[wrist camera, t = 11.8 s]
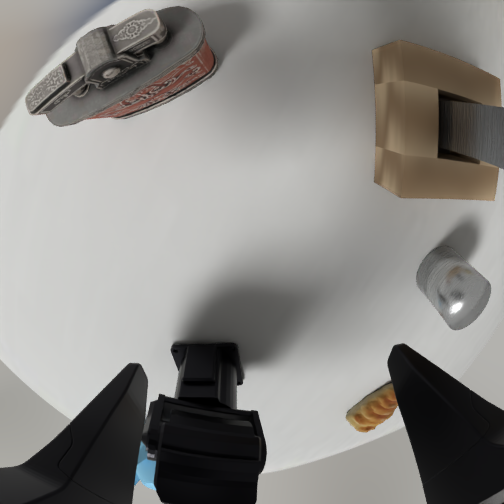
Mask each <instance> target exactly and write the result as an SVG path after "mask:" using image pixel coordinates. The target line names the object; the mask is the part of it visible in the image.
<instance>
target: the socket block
mask: <svg viewBox="0 0 504 504" xmlns="http://www.w3.org/2000/svg"><path fill="white" fill-rule="evenodd" d="M372 56H373V68H374V83H375V106H376V153H375V177H374V182H375V183H377V184H378V185H380V186H382V187H384V188H385V189H387V190H389V191H390V192H392V193H393V194H395V195H397V196H398V197H400V198H431V199H466V200H487V201H494V200H495V194H496V187H497V180H498V172H499V167H497V166H494V165H492V164H489V163H486V162H484V161H481V160H478V159H475V158H472V157H469V156H466V155H463V154H460V153H457V152H454V151H451V150H447V149H444V148H441V147H438V129H439V105H438V101H453V102H465V103H475V104H483V105H490V106H497V107H501V87H500V79H499V78H497V77H495V76H493V75H491V74H489V73H487V72H485V71H483V70H481V69H479V68H477V67H475V66H473V65H470V64H468V63H466V62H464V61H461V60H459V59H456V58H454V57H451V56H449V55H446V54H444V53H441V52H438V51H435V50H432V49H429V48H426V47H423V46H420V45H417V44H413V43H410V42H407V41H403V40H398V41H395V42H392V43H390V44H387V45H384V46H382V47H379V48H377V49H374V50H372Z"/></svg>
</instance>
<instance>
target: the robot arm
mask: <svg viewBox="0 0 504 504" xmlns="http://www.w3.org/2000/svg"><path fill="white" fill-rule="evenodd" d="M175 349H176V350H175ZM171 353H172V356H173V358H174V361H175V363H176V366H177V368H178V371H179V375H178V380H177V386H176V391H175V397H174V398H171V397H167V396H165V395H163V394H159V397H158V400H155V401H153V402H150V407H149V411H148V416H147V419H146V422H145V413H146V400H147V388H148V379H147V376H146V374H145V372H144V370H143V368H142V366H141V364H139V363H129V364H128V365H127V366H126V367H125V368H124V369H123V370H122V371H121V372H120V373H119V374H118V375H117V376H116V377H115V378H114V379H113V380H112V381H111V382H110V383H109V384H108V385H107V386H106V387H105V388H104V389H103V390H102V391H101V392H100V393H99V394H98V395H97V396H96V397H95V398H94V399H93V400H92V401H91V402H90V403H89V404H88V405H87V406H86V407H85V408H84V409H83V410H82V411H81V412H80V413H79V414H78V415H77V416H76V417H75V418H74V419H73V420H72V422H71V423H70V424H69V425H68V426H67V427H66V428H65V429H64V430H63V431H62V432H61V433H60V434H58V435H57V436H56V437H55V438H54V439H53V440H52V441H51V442H50V443H49V444H47V445H46V446H45V447H44V448H43V449H41V450H40V451H39V452H38V453H36V454H35V455H34V456H33V457H31V458H30V459H29V460H28V461H26V462H25V463H23V464H21V465H18V466H14V467H5V468H0V504H132V499H133V490H134V483H135V476H136V469H137V463H138V456H139V450H140V445H141V441H142V443H143V444H144V445H145V447H146V451H147V460H151V461H156V466H155V474H154V486H155V488H156V492H157V494H158V496H159V498H160V500H161V502H162V503H164V504H255V503H256V500H257V482H258V475H259V474H260V473H261V472H262V471H263V469H264V466H265V462H266V455H267V449H266V441H265V438H264V434H263V430H262V426H261V423H260V419H259V415H258V411H254V410H251V411H246V410H238V409H237V386H238V385H242V384H243V377H242V370H241V364H240V357H239V350H238V345H237V344H235V343H222V344H190V345H172V347H171ZM387 364H388V369H389V373H390V376H391V380H392V385H393V389H394V393H395V397H396V400H397V403H398V406H399V409H400V412H401V415H402V418H403V421H404V424H405V427H406V430H407V433H408V436H409V439H410V442H411V445H412V449H413V452H414V455H415V458H416V462H417V466H418V469H419V473H420V477H421V481H422V484H423V488H424V493H425V497H426V502H427V504H504V410H502V409H500V408H498V407H496V406H495V405H493V404H491V403H489V402H488V401H486V400H485V399H483V398H482V397H480V396H479V395H477V394H476V393H475V392H473V391H472V390H470V389H469V388H467V387H466V386H464V385H463V384H462V383H460V382H459V381H458V380H456V379H455V378H453V377H452V376H450V375H449V374H448V373H446V372H445V371H443V370H442V369H440V368H439V367H438V366H436V365H435V364H433V363H432V362H430V361H429V360H428V359H426V358H425V357H423V356H422V355H420V354H419V353H417V352H416V351H415V350H413V349H412V348H410V347H409V346H407V345H406V344H403V343H402V344H397V345H394V346H393V348H392V351H391V353H390V356H389V358H388V363H387ZM144 422H145V425H144Z"/></svg>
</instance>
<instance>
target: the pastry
mask: <svg viewBox="0 0 504 504" xmlns="http://www.w3.org/2000/svg"><path fill="white" fill-rule="evenodd" d="M397 406H398V403H397V400H396V397H395V393H394V389H393V385H392V383H390V384H387V385H384V386H383V387H382V388H380V389H379V390H377V391H375V392H373V393H371V394H369V395H367V396H366V397H365V398H364V399H363V400H361V401H360V402H359V403H357V404H356V405H355V406H354V407H352V408H351V409H350V410H349V411H348V413H347V415H346V420H347V421H348V422H349V423H350V425H352V426H353V427H354V428H355V429H356V430H357V431H359V432H368V431H370V430H373V429H375V427H376V426H377V425H378V424H381V423H383V422H384V421H385V420H386V419H388V418H390V417H391V416H392V414H393V412H394V410H395V409H396V408H397Z"/></svg>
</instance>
